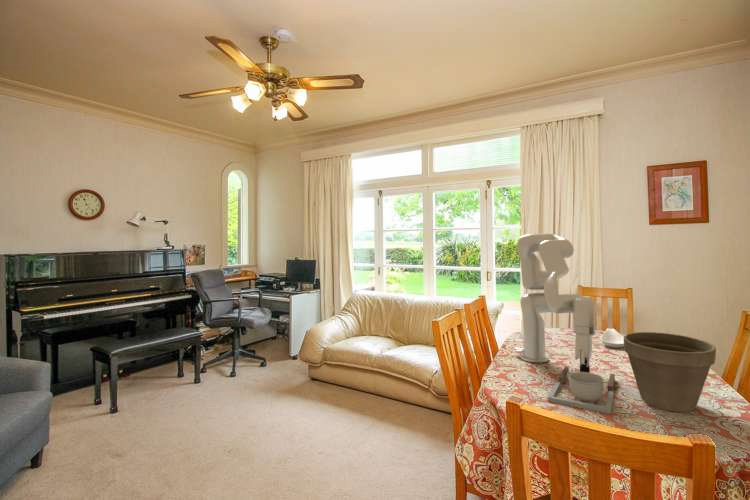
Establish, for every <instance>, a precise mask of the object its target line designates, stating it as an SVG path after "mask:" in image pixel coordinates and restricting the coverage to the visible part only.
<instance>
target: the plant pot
mask: <svg viewBox="0 0 750 500" xmlns="http://www.w3.org/2000/svg"><path fill="white" fill-rule="evenodd" d="M623 337H624V346H623V350H624V352H625V353H626V354H627V358H628V360H629V363H630V366H631V369H632V373H633V376H634V379H635V383H636V386H637V389H638V393H639V395H640V397H641V400H642V401H643V402H644V403H645V404H647V405H649V406H652V407H654V408H656V409H659V410H664V411H668V412H672V413H673V412H675V413H690V412H693V411H694V410H695V409H696V407H697V406H698V403H699V401H700V398H701V394H702V392H703V388H704V387H705V384H706V381H707V378H708V375H709V372H710V369H711V366H713V365H714V364H715V363H716V354H717V347H716V346H715V345H713V344H712V343H710V342H708V341H705V340H702V339H699V338H695V337H690V336H687V335H680V334H674V333H667V332H666V333H665V332H654V331H653V332H652V331H649V332H648V331H641V332H640V331H639V332H630V333H627V334H625V335H624V336H623Z"/></svg>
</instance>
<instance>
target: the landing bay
mask: <svg viewBox="0 0 750 500" xmlns="http://www.w3.org/2000/svg"><path fill="white" fill-rule="evenodd" d="M561 385H562V384H560V382H559V381H555V383H554V385H553V387H552V388H551V390H550V392H549V393H548V396H547V402H550V403H555V404H560V405H564V406H569V407H575V408H578V409H583V410H588V411H594V412H598V413H602V414H607V415H612V411H613V404H614V398H615V392H614V391H613V392H612V391H609V392H607V393H608V394H607V399H606V404H605V406H603V405H599V404H593V403H590V402H584V401H580V400H579V401H578V400H573V399H568V398H562V397H558V396H557V394H558V392H559V390H560V387H562V386H561Z"/></svg>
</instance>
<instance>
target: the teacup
mask: <svg viewBox="0 0 750 500" xmlns="http://www.w3.org/2000/svg"><path fill="white" fill-rule="evenodd" d="M566 379H567V380H568V382H569V389H570V392H571V394H572V395H573V396H574V397H575V398H576V399H577V400H579V401H580V402H584V403H594V402H595V403H596V402H598V401H599V400H600V399H602V397H603V395H604V378H603V377H602V376H601V375H599V374H597V373H592V372H590V373H589V372H580V371H573V370H569V372H568V373H567V378H566Z"/></svg>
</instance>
